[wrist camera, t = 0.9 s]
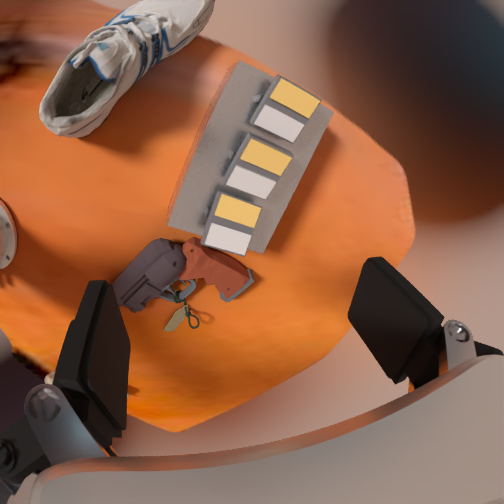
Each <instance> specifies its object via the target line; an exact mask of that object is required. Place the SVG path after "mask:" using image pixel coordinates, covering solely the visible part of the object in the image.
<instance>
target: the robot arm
mask: <svg viewBox="0 0 504 504" xmlns="http://www.w3.org/2000/svg"><path fill="white" fill-rule="evenodd" d="M16 249H17V232H16V228H15V224H14V221H13V218H12V216H11V214H10V212H9V210H8V208H7V207H6V206H5V204H4V203H3V202H2V201H1V200H0V269H3V268H5V267H6V266H8V265H9V263H10V262H11V261H12V259H13V258H14V256H15V253H16ZM348 319H349V321H350V323H351V324H352V325H353V327H354V328H355V330H356V331H357V333H358V334H359V335H360V337H361V338H362V340H363V341H364V343H365V344H366V345H367V347H368V348H369V350H370V351H371V353H372V354H373V356H374V357H375V359H376V360H377V361H378V363H379V365H380V366H381V367H382V369H383V371H384V372H385V373H386V375H387V376H388V377H389V378H390V379H392V380H393V382H394V383H395V384H397V383H399V382H402V381H404V380H405V379H406V377H407V376H408V377H409V389H408V394H406V395H404V396H402V397H400V398H397V399H395V400H393V401H391V402H389V403H387V404H385V405H382V406H380V407H378V408H376V409H373V410H371V411H368V412H366V413H364V414H361V415H358V416H356V417H353V418H351V419H348V420H345V421H343V422H340V423H337V424H334V425H331V426H328V427H325V428H322V429H319V430H315V431H312V432H309V433H305V434H302V435H298V436H295V437H291V438H286V439H282V440H278V441H274V442H270V443H265V444H260V445H255V446H250V447H244V448H238V449H232V450H225V451H217V452H209V453H199V454H188V455H174V456H138V457H119V456H118V454H116V452H115V451H114V450H113V449H112V447H111V445H112V437H118V438H121V436H122V430H125V429H126V416H127V388H128V372H129V359H130V340H129V337H128V334H127V331H126V328H125V325H124V322H123V319H122V316H121V313H120V309H119V306H118V303H117V299H116V296H115V293H114V289H113V286H112V284H108V283H107V281H106V280H93V281H89V283H88V286H87V288H86V291H85V293H84V296H83V298H82V301H81V304H80V306H79V309H78V312H77V315H76V318H75V320H72V321H71V323H70V325H69V328H68V331H67V334H66V337H65V340H64V343H63V346H62V349H61V353H60V356H59V360H58V363H57V367H56V371H55V375H54V379H53V383H52V385H51V384H41V385H39V386H36V387H35V388H34V389H32V390H31V391H30V393H29V394H28V396H27V397H26V400H25V405H24V410H25V414H26V415H25V416H23V417H22V418H21V419H20V420H18V421H17V422H15V423H14V424H13V425H11V426H10V427H9V428H8V429H6V430H5V431H4V432H2V433H1V434H0V504H504V356H503V353H502V351H501V350H499V349H496V348H494V347H491V346H488V345H485V344H482V343H479V342H476V341H474V340H473V336H472V333H471V332H470V330H469V329H468V327H467V326H465V324H463V323H461V322H459V321H457V320H448V321H447V322H446V323H445V324H444V326H443V327H442V326H441V323H442V321H443V319H444V316H443V315H442V314H441V313H440V312H439V311H438V310H437V309H436V308H435V307H434V306H433V305H432V304H431V303H430V302H429V301H428V300H427V299H426V298H425V297H424V296H423V295H422V294H421V293H420V292H419V291H418V290H417V289H416V288H415V287H414V286H413V285H412V284H411V283H410V282H409V281H408V280H407V279H406V278H405V277H403V276H402V275H401V274H400V273H399V272H398V271H397V270H396V269H395V268H394V267H393V266H392V265H391V264H390V263H388V262H387V261H386V260H385V259H384V258H383V257H371V258H368V259H367V260H366V262H365V263H364V264H363V267H362V271H361V274H360V277H359V281H358V284H357V287H356V290H355V293H354V296H353V299H352V302H351V305H350V308H349V311H348Z"/></svg>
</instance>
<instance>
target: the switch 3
mask: <svg viewBox="0 0 504 504" xmlns="http://www.w3.org/2000/svg"><path fill="white" fill-rule="evenodd" d="M261 210H262V206H259V205H257V204H254V203H251V202H249V201H246V200H243V199H240V198H238V197H235V196H232V195H229V194H226V193H224V192H221V191H217V194H216V197H215V200H214V202H213V205H212V208H211V211H210V214H209V217H208V220H207V223H206V226H205V229H204V232H203V235H202V238H201V241H200V243H201V244H202V245H205V246H208V247H212V248H215V249H219V250H222V251H226V252H229V253H233V254H236V255H240V256H243V257H245V255H246V252H247V249H248V246H249V243H250V240H251V238H252V235H253V232H254V229H255V226H256V224H257V221H258V218H259V215H260V212H261Z"/></svg>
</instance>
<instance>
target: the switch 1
mask: <svg viewBox="0 0 504 504" xmlns="http://www.w3.org/2000/svg"><path fill="white" fill-rule="evenodd" d="M320 102H321V99H320V98H318V97H317V96H315V95H313V94H312V93H310V92H309V91H307V90H305V89H303V88H302V87H300V86H298V85H297V84H295V83H293V82H291V81H289V80H288V79H286V78H284V77H282V76H280V75H278V74H277V76H276V77H275V79H274V80H273V82H272V84H271V85H270V87H269V89H268V90H267V92H266V94H265V95H264V97H263V99H262V100H261V102H260V104H259V105H258V107H257V109H256V111H255V112H254V114H253V116H252V117H251V119H250V123H251V124H252V125H254V126H256V127H259V128H261V129H263V130H265V131H267V132H269V133H271V134H273V135H275V136H277V137H279V138H282V139H284V140H286V141H287V142H289V143H291V144H293V143H294V142H295V140H296V139H297V137H298V136H299V134H300V133H301V131H302V130H303V128H304V126H305V125H306V123H307V122H308V120H309V119H310V117H311V116H312V114H313V113H314V111H315V110H316V108H317V107H318V105H319V104H320Z"/></svg>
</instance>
